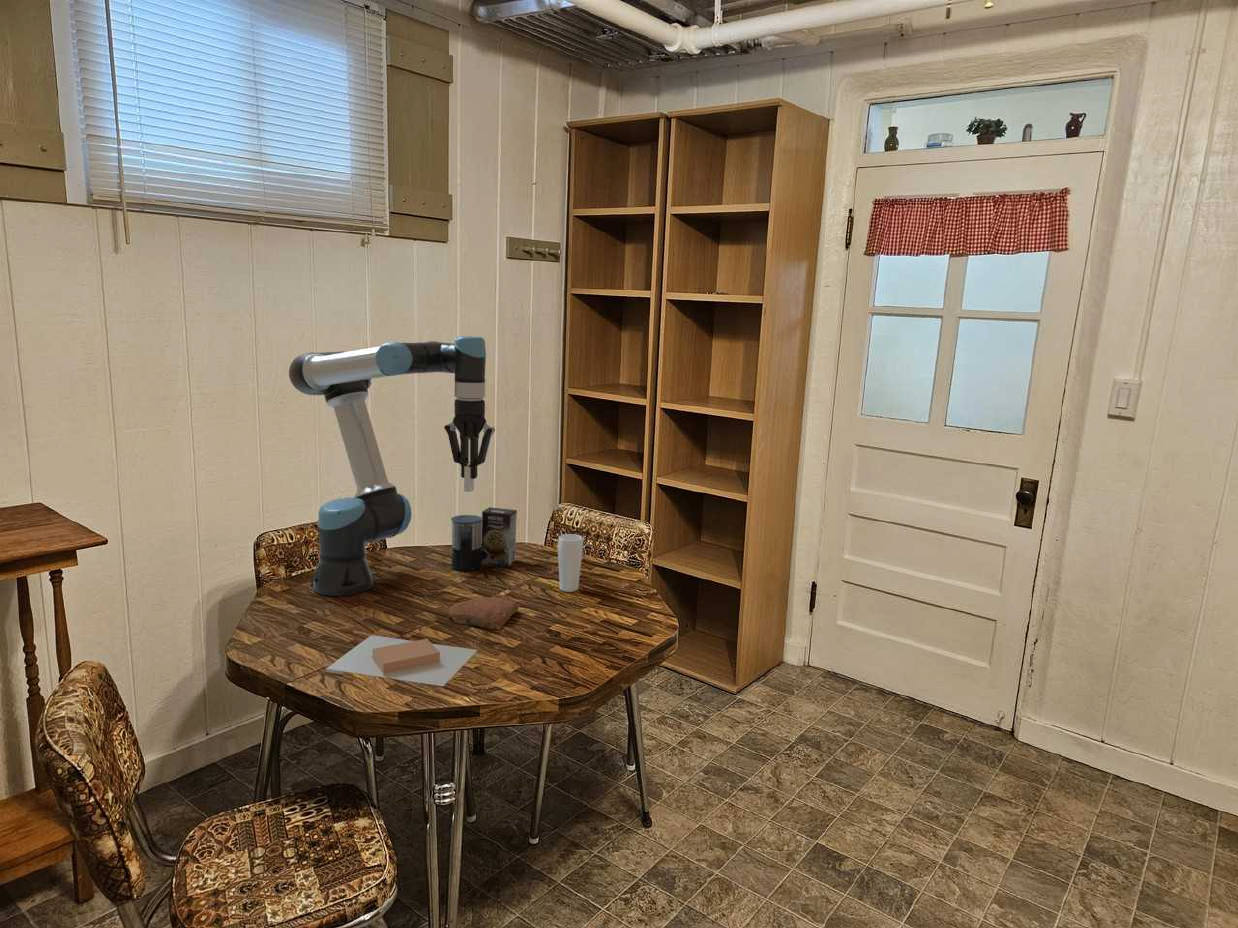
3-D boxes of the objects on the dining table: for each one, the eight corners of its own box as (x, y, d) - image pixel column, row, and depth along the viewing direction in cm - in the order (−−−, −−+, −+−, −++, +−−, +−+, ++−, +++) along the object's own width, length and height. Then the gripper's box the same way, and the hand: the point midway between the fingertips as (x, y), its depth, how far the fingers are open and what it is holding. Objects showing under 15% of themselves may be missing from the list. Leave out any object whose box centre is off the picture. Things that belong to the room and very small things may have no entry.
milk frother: (447, 563, 235) (447, 515, 232) (498, 558, 242) (499, 511, 239) (459, 578, 222) (460, 527, 219) (512, 572, 229) (513, 523, 226)
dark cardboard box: (480, 563, 236) (480, 511, 233) (487, 557, 242) (488, 506, 239) (509, 566, 234) (510, 514, 231) (516, 560, 240) (517, 509, 237)
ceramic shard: (467, 585, 202) (521, 600, 199) (462, 609, 202) (516, 624, 200) (443, 597, 188) (502, 614, 185) (438, 623, 188) (496, 640, 185)
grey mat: (326, 672, 162) (326, 668, 162) (371, 638, 180) (371, 635, 179) (443, 689, 157) (443, 686, 157) (477, 653, 174) (477, 649, 174)
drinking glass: (561, 594, 213) (563, 541, 210) (553, 586, 219) (554, 534, 216) (584, 592, 215) (586, 539, 212) (576, 584, 221) (577, 533, 219)
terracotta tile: (427, 638, 173) (372, 648, 167) (439, 652, 166) (383, 663, 160) (427, 649, 173) (372, 659, 167) (439, 663, 167) (383, 675, 160)
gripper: (499, 399, 199) (498, 489, 203) (451, 395, 201) (451, 485, 206) (488, 402, 191) (487, 496, 196) (439, 398, 194) (439, 491, 198)
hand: (469, 490), depth 201 cm, fingers closed
